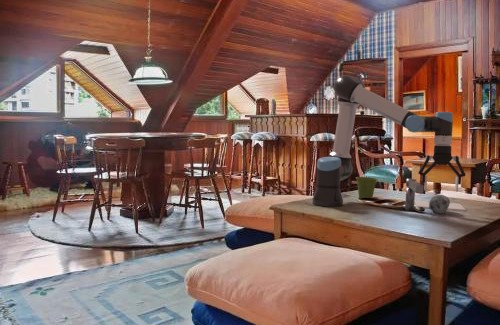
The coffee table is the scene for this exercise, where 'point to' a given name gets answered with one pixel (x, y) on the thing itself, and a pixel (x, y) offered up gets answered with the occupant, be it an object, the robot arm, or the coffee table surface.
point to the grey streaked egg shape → (439, 204)
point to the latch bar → (414, 185)
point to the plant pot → (366, 186)
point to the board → (451, 207)
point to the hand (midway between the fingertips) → (440, 190)
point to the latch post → (409, 199)
